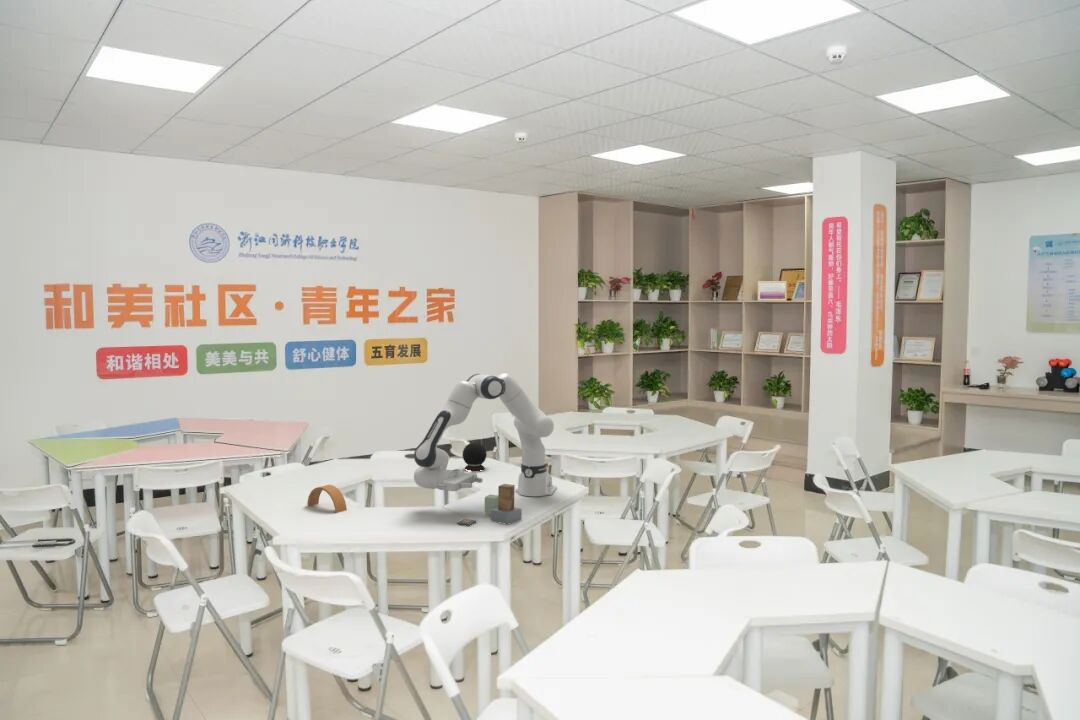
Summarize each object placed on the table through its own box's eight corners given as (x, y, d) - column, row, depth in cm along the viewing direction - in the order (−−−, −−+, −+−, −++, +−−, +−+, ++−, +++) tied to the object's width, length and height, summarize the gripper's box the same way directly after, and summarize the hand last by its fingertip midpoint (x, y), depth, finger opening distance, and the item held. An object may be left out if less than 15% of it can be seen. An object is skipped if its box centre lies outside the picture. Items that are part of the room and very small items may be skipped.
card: (463, 520, 307) (463, 518, 307) (476, 522, 305) (476, 520, 305) (456, 524, 302) (456, 522, 302) (469, 526, 300) (469, 524, 300)
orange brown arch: (335, 513, 319) (335, 490, 318) (307, 506, 330) (306, 484, 330) (346, 510, 323) (346, 488, 323) (318, 503, 335) (317, 481, 334)
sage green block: (490, 512, 320) (489, 494, 319) (500, 513, 318) (500, 495, 317) (484, 515, 315) (484, 497, 315) (495, 516, 313) (495, 498, 313)
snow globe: (481, 473, 395) (481, 445, 394) (458, 471, 399) (458, 444, 398) (490, 467, 408) (489, 441, 407) (467, 466, 411) (467, 439, 410)
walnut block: (503, 506, 311) (504, 483, 311) (514, 508, 309) (514, 485, 308) (498, 509, 307) (498, 486, 306) (508, 511, 305) (509, 487, 304)
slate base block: (505, 516, 315) (505, 505, 315) (521, 520, 309) (521, 508, 309) (491, 521, 308) (491, 509, 308) (507, 525, 302) (507, 513, 302)
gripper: (435, 478, 309) (464, 481, 304) (459, 468, 328) (487, 470, 322) (436, 493, 309) (465, 496, 304) (459, 482, 328) (487, 484, 323)
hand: (476, 483), depth 313 cm, fingers open, 8 cm apart
